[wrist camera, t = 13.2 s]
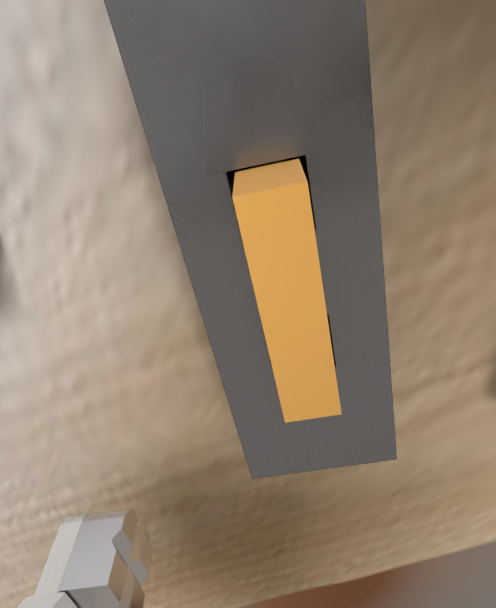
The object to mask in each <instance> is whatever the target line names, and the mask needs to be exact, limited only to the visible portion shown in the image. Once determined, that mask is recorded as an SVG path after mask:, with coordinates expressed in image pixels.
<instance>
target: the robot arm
mask: <svg viewBox="0 0 496 608" xmlns="http://www.w3.org/2000/svg"><path fill="white" fill-rule="evenodd" d="M137 523H138V516H137V515H136V513H135V511H134V510H133V509H131V510H122V511H113V512H105V513H96V514H85V515H78V516H70V517H66V518H65V519H64V520H63V522H62V523H61V524H60V526H59V529H58V532H57V534H56V537H55V540H54V542H53V545H52V548H51V550H50V553H49V556H48V558H47V561H46V564H45V566H44V569H43V572H42V574H41V577H40V580H39V582H38V585H37V588H36V590H35V593H34V595H30V596H27V597H26V598H25V599H24V600H23V601H22V602H21V603H20V605H19V606H18V607H17V608H143V603H144V598H145V595H144V592H143V590H142V588H141V586H140V585H141V583H142V582H143V581H144V579H145V578H146V577H147V575H148V574H149V569H150V563H151V544H150V540H149V536H148V534H147V532H146V530H145V529H143V528H141V527H139V526H137Z"/></svg>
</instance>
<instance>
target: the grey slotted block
mask: <svg viewBox="0 0 496 608" xmlns="http://www.w3.org/2000/svg"><path fill="white" fill-rule="evenodd" d="M104 3H105V6H106V9H107V12H108V16H109V19H110V22H111V25H112V28H113V32H114V35H115V38H116V41H117V45H118V48H119V51H120V54H121V57H122V61H123V64H124V67H125V70H126V74H127V77H128V80H129V83H130V86H131V90H132V93H133V96H134V99H135V103H136V106H137V109H138V112H139V115H140V119H141V122H142V125H143V128H144V132H145V135H146V138H147V141H148V144H149V148H150V151H151V154H152V157H153V161H154V164H155V167H156V170H157V173H158V177H159V180H160V183H161V186H162V189H163V193H164V196H165V199H166V202H167V206H168V209H169V212H170V215H171V218H172V222H173V225H174V228H175V231H176V235H177V238H178V241H179V244H180V247H181V251H182V254H183V257H184V260H185V264H186V267H187V270H188V273H189V276H190V280H191V283H192V286H193V289H194V293H195V296H196V299H197V302H198V305H199V309H200V312H201V315H202V318H203V322H204V325H205V328H206V331H207V334H208V338H209V341H210V344H211V347H212V351H213V354H214V357H215V360H216V363H217V367H218V370H219V373H220V376H221V379H222V383H223V386H224V389H225V392H226V396H227V399H228V402H229V405H230V408H231V412H232V415H233V418H234V421H235V425H236V428H237V431H238V434H239V437H240V441H241V444H242V447H243V450H244V454H245V457H246V460H247V463H248V466H249V470H250V473H251V476H252V479H255V478H263V477H270V476H277V475H285V474H292V473H299V472H307V471H314V470H321V469H329V468H336V467H343V466H351V465H358V464H366V463H373V462H380V461H388V460H395V459H397V456H396V442H395V427H394V413H393V398H392V384H391V369H390V355H389V340H388V326H387V311H386V297H385V282H384V268H383V253H382V239H381V224H380V210H379V195H378V181H377V166H376V152H375V137H374V123H373V108H372V94H371V79H370V65H369V50H368V36H367V21H366V7H365V0H104ZM293 157H298V159H299V160H300V163H301V165H302V168H303V171H304V174H305V176H306V179H307V182H308V188H309V195H310V202H311V209H312V215H313V222H314V229H315V236H316V243H317V250H318V256H319V263H320V270H321V277H322V284H323V290H324V297H325V304H326V311H327V318H328V325H329V331H330V338H331V345H332V352H333V359H334V365H335V372H336V379H337V386H338V393H339V400H340V406H341V413H342V414H341V415H334V416H327V417H321V418H314V419H307V420H300V421H294V422H287V423H285V420H284V416H283V412H282V408H281V403H280V399H279V395H278V390H277V386H276V382H275V378H274V373H273V369H272V365H271V361H270V356H269V352H268V348H267V344H266V339H265V335H264V331H263V326H262V322H261V318H260V314H259V309H258V305H257V301H256V297H255V292H254V288H253V284H252V280H251V275H250V271H249V267H248V262H247V258H246V254H245V250H244V245H243V241H242V237H241V233H240V228H239V224H238V220H237V216H236V211H235V207H234V203H233V198H232V195H233V186H234V177H235V172H238V170H237V169H241V168H246V167H251V166H255V165H260V164H265V163H269V162H274V161H279V160H283V159H288V158H293Z"/></svg>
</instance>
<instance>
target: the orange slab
mask: <svg viewBox="0 0 496 608" xmlns="http://www.w3.org/2000/svg"><path fill="white" fill-rule="evenodd" d="M232 198H233V203H234V207H235V211H236V216H237V220H238V224H239V228H240V233H241V237H242V241H243V245H244V250H245V254H246V258H247V262H248V267H249V271H250V275H251V280H252V284H253V288H254V292H255V297H256V301H257V305H258V309H259V314H260V318H261V322H262V326H263V331H264V335H265V339H266V344H267V348H268V352H269V356H270V361H271V365H272V369H273V373H274V378H275V382H276V386H277V390H278V395H279V399H280V403H281V408H282V412H283V416H284V420H285V423H287V422H294V421H300V420H307V419H314V418H321V417H327V416H334V415H341V414H342V413H341V406H340V400H339V393H338V386H337V379H336V372H335V365H334V359H333V352H332V345H331V338H330V331H329V325H328V318H327V311H326V304H325V297H324V290H323V284H322V277H321V270H320V263H319V256H318V250H317V243H316V236H315V229H314V222H313V215H312V209H311V202H310V195H309V188H308V182H307V179H306V176H305V174H304V171H303V168H302V165H301V163H300V160H299V159H295V160H290V161H286V159H283V160H279V161H274V162H269V163H265V164H260V165H255V166H251V167H250V169H247V170H243V171H238V172H235V177H234V186H233V195H232Z"/></svg>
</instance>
